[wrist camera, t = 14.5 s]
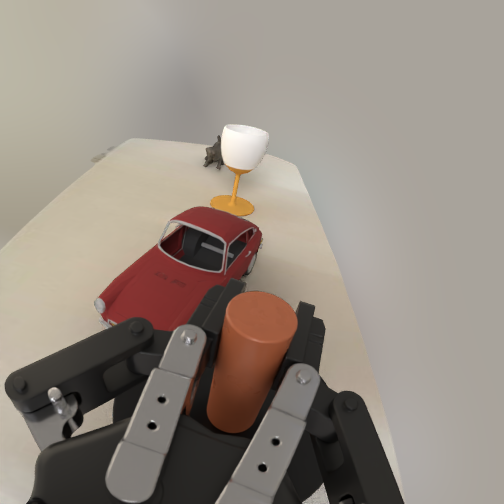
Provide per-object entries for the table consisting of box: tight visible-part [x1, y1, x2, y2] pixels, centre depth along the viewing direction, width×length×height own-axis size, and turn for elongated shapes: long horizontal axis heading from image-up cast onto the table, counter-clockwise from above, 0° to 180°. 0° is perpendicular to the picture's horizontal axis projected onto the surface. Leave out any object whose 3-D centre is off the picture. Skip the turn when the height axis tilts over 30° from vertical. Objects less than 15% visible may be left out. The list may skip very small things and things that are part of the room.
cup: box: [210, 124, 269, 216], centre depth 60 cm, size 9×9×16 cm
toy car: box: [94, 207, 263, 331], centre depth 38 cm, size 11×25×10 cm, turn 159°
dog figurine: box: [203, 136, 224, 169], centre depth 82 cm, size 12×6×7 cm, turn 178°
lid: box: [113, 291, 328, 503], centre depth 13 cm, size 12×12×9 cm
